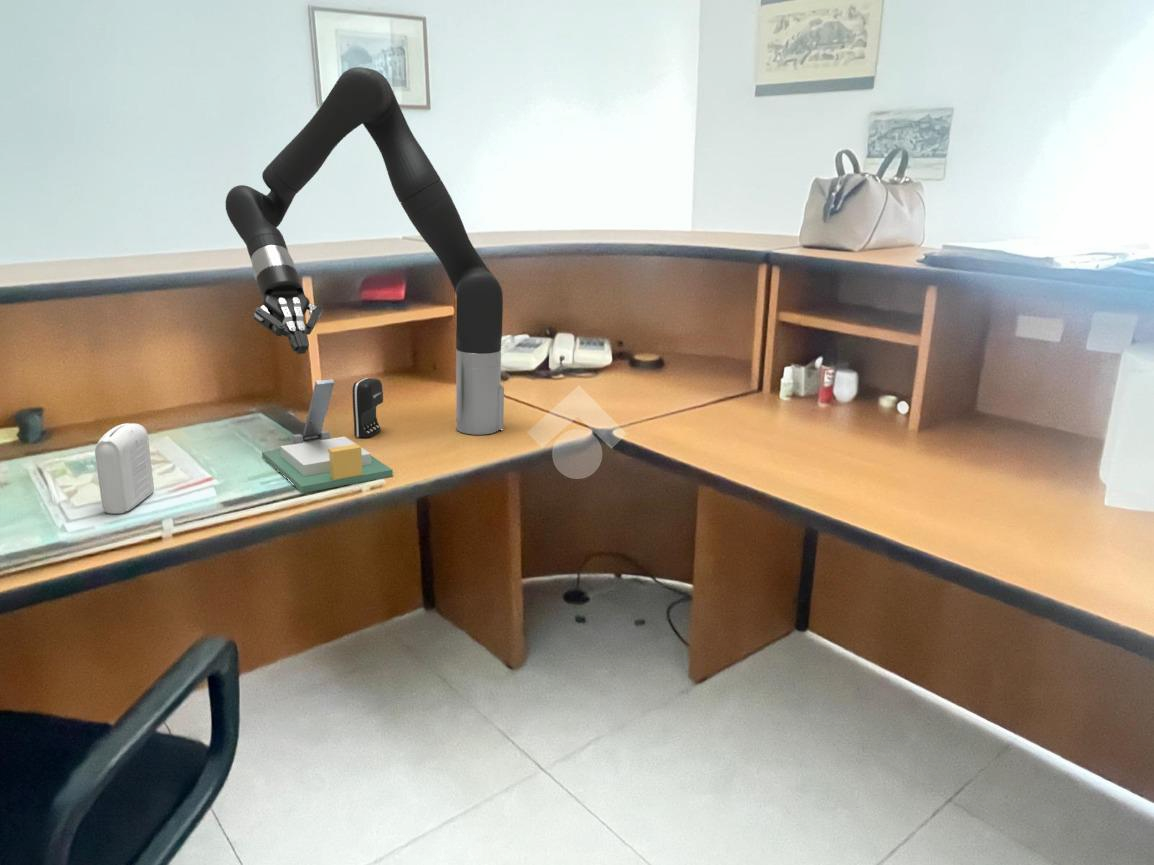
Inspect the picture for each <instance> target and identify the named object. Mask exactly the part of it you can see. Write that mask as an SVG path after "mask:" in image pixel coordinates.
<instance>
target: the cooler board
mask: <svg viewBox="0 0 1154 865" xmlns="http://www.w3.org/2000/svg"><path fill="white" fill-rule="evenodd" d="M291 436H292V437H291V438H292V444H286V445H281V446H280V448H277V449H270V450H265V451H261V453H262V454H261V455H262V456H261V458H262V459H263V458H264V459H265V460H266V461H267V462H266V461H265V460H264V459H263V460H264V461H265V462H266V463H267V464H269V465H270V464H271V465H272V466H273V467H274V468H275V469H277V470H278V471H279V472H280V473H281V474H282V475H284V476H285V477H286V478H288V479H289V480H290V481H291V482H292V483H293V484H294V485H295V486H296V487H295V486H294V487H295V488H296V489H297V490H298V492H301V494H306V493H311V492H316V491H321V490H327V489H332V488H338V487H342V486H343V487H344V486H347V485H353V484H360V483H364V482H369V481H374V480H380V479H381V480H382V479H384V478H391V477H393V476H394V474H393V473H394V472H393V469H392V468H391V467H389V466H388V465H386V464H384V463H383V462H382V461H380V460H378V459H377V458H376V457H375V456H372V453H370V452H369V451H367V450H366V449H364V448H363V447H362V446H360V445H359V444H357V443H355V442H354V441H352V440H351V439H349V438H348V437H346V436H344V435H343V436H339V437H332V438H330V436H331V433H330V431H328V430H326V429H325V430H324V429H323V430H322V431H321V435H320V436H321V438H320V439H318V440H312V441H305V442H303V436H302V434H301V433H298V434H297V433H296V434H292V435H291ZM271 465H270V466H271ZM272 466H271V467H272ZM273 467H272V468H273ZM274 468H273V469H274ZM275 469H274V470H275ZM277 470H276V471H277ZM278 471H277V472H278ZM279 472H278V473H279ZM280 473H279V474H280ZM281 474H280V475H281ZM282 475H281V476H282ZM286 478H285V479H286Z"/></svg>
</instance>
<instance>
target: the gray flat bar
mask: <svg viewBox="0 0 1154 865" xmlns="http://www.w3.org/2000/svg"><path fill="white" fill-rule="evenodd" d="M334 385H335V381H334V378H329V379H321V380H316V381H315V382H314V388H313V392H312V395H311V400H310V404H309V407H308V412H307V415H306V420H305V423H304V424H305V425H304V429H303V432H302V434H301V435H302V436H303V443H305V442H312V441H318V440H319V439H320V438H321V436H320V435H321V431H323V427H324V423H325V419H326V415H327V411H328V408H329V404H330V400H331V397H332V393H333V390H334Z"/></svg>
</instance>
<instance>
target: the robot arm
mask: <svg viewBox="0 0 1154 865" xmlns="http://www.w3.org/2000/svg"><path fill="white" fill-rule="evenodd" d="M361 125H363V126H364V128H365V129H366V130H367V132H368V134H369V135H370V138H372V140H373V142H374V143H375V144H376V147H377V148H378V150H379V152H380V154H381V157H382V159H383V160H382V161H383V163H384V165H385V168H386V172H387V175H388V178H389V181H390V185H391V187H392V190H393V191H394V194H395V195H396V198H397V200H398V202H399V203H400V205H401V207H402V208H403V210H404V213H405V214H406V215H407V217H408V219H409V220H410V222H411V224H412V225H413V227H414V228H415V229H416V231H417V232H418V233H419V235H420V236H421V238H422V239H423V241H425V243H426V244H427V245H428V247H429V248H430V250H432V252H434V254H435V255H436V257H437V258H438V259H439V260H438V261H440V263H441V265H442V267H443V269H444V271H445V272H446V275H447V276H448V279H449V281H450V284H451V286H452V288H453V290H454V293H455V297H456V298H455V306H456V307H455V314H456V317H455V319H456V320H455V322H456V327H455V329H456V331H455V345H456V346H455V347H456V349H455V355H456V356H455V358H456V359H455V360H456V361H455V365H456V366H455V372H456V373H455V375H456V378H455V379H456V380H455V382H456V386H455V389H456V390H455V391H456V392H455V394H456V395H455V396H456V398H455V399H456V400H455V401H456V403H455V404H456V416H455V418H456V419H455V423H456V426H455V427H456V431H458V432H460V433H463V434H465V435H466V434H467V435H475V436H476V435H479V436H480V435H490V434H495V433H497V432H499V431H498V430H501V429H503V430H504V424H505V423H504V418H505V417H504V412H505V410H504V408H505V407H504V406H505V405H504V404H505V402H504V401H505V387H504V386H503V385H502V384H501V379H502V378H501V376H502V374H501V373H502V372H501V369H502V361H501V360H502V338H503V319H504V318H503V317H504V316H503V312H504V311H503V310H504V306H503V305H504V301H503V297H504V295H503V294H504V293H503V290H502V286H501V284H500V283H499V282H500V281H498V279H497V278H496V276H495V275H494V274H493V273H492V271H490V269H489V267H488V266H487V265H486V264H485V262H484V261H483V258H481V257H480V255H479V253H478V252H477V250H476V248H475V247H474V246H473V243H472V242H471V240H470V238H469V236H468V233H467V231H466V228H465V226H464V223H463V221H462V218H461V215H460V214H459V211H458V209H457V206H456V205H455V203H454V201H453V199H452V196H451V195H450V193H449V191H448V189H447V187H446V186H445V184H444V182H443V180H442V178H441V177H440V175H439V174H438V172H437V170H436V169H435V167H434V165H433V164H432V162H431V161H430V159H429V157H428V155H427V154H426V153H425V151H424V149H423V148H422V147H421V145H420V143H419V141H417V139H416V137H415V136H414V134H413V132H412V130H411V128H410V126H409V124H408V122H407V120H406V118H405V116H404V113H403V111H402V108H401V106H400V105H399V102H398V100H397V97H396V95H395V92H394V91H393V88H392V86H391V84H390V82H389V81H388V79H387V78H386V77H385V76H384V75H383V74H382V73H380V72H379V71H377V70H375V69H372V68H368V67H362V66H360V67H357V66H356V67H350V68H349V69H347V70H345V71H344V72H342V74H340V76H339V78H338V79H337V81H336V82H335V84H334V85H333V87H332V89H331V90H330V91H329V93H328V94H327V97H326V98H325V100H324V101H323V102H322V104H321V105H320V107H319V108H318V109H317V111H316V112H315V114H314V115H313V116H312V118H311V119H310V120H309V121H308V122H307V124H306V125H304V127H303V128H302V129H301V130H300V132H298V133H297V134H296V136H294V137H293V139H292V140H291V141H290V142H289V143H288V144H287V145H286V146H285V147H284V148H283V149H282V150H281V151H280V152H279V153H278V154H277V156H275V157H274V158H273V160H271V162H270V163H269V164H268V165H267V166H266V167H265V168H264V170H263V172H262V176H261V177H262V181H263V183H264V184H265V185H266V186H267V188H268V189H269V190H270V191H269V192H268V194H264V193H262V192H260V191H258V190H257V189H254V188H253V187H251V186H248V185H245V184H243V185H242V184H241V185H236V186H233V187H232V188H231V189H230V190H229V191H228V193H227V195H226V198H225V212H226V214H227V217H228V218H229V221H230V223H231V226H233V228H234V230H235V231H236V232H237V234H238V236H239V237H240V238H241V240H242V242H244V244H245V246H246V249H247V251H248V255H249V257H250V258H249V259H250V262H251V267H252V272H253V277H254V280H255V281H256V284H257V287H258V290H259V292H260V293H259V294H260V297H261V299H262V304H261V306H260V307H259V306H257V307H255V309H254V313H253V320H255V321H256V322H258V323H259V324H260V325H262V326H263V327H265V328H266V329H268V330H269V331H270V332H271V333H273V334H274V335H275V336H277V337H282V336H283V337H286V338H287V339H288V342H289V344H290V348H291V350H292V351H293V352H295V353H296V355H302V354H306V353H307V351H308V349H309V346H310V343H309V339H308V337H307V335H311V333H312V332H313V330H314V328H315V326H316V324H317V322H318V321H319V319H320V318H321V315H322V313H323V310H324V306H323V305H322V304H317V305H315V304H313V303H311V302H310V299H309V298H308V297H307V295H306V294H305V292H304V291H305V290H304V288H303V286H302V282H301V279H300V276H299V273H298V271H297V268H296V266H295V262H294V259H293V258H292V256H291V254H290V252H289V250H288V247H287V244H286V241H285V239H284V236H283V234H282V232H281V231H280V230H279V228H278V227H279V226H280V225H281V223H282V222H283V220H284V217H285V215H286V214H287V211H288V210H289V208H290V207H291V204H292V202H293V201H294V198H295V196H296V195H297V194H298V193H299V192H300V191H301V190H303V188H304V187H305V186H306V185H307V184H308V183H309V182H310V180H311V179H312V178H313V177H314V176H315V175H316V174H317V173H318V172H319V171H320V169H321V167H322V166H323V165H324V164H325V161H326V160H327V159H328V157H329V156H330V154H331V153H332V152H333V150H334V149H335V148H336V147H337V145H339V143H340V142H341V141H342V140H344V139H345V138H346V136H348V135H349V134H350V133H351V132H353V131H354V130H355V129H357V128H359V126H361ZM307 311H308V316H309V318H308V320H307V323H305V322H304V316H305V314H306V313H307ZM496 431H497V432H496ZM501 431H502V430H501ZM494 432H495V433H494Z"/></svg>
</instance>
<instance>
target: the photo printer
mask: <svg viewBox="0 0 1154 865" xmlns="http://www.w3.org/2000/svg"><path fill="white" fill-rule="evenodd" d="M94 455H95V463H96V471H97V480H98V486H99V493H100V501H101V507H102V510H103V511H104V512H106V514H116V515H117V514H124V513H126V512H129V511H130V510H132V509H134V508H135V507H136V506H137V505H139V504H140V503H141V502H142V501H144V500H145V499H147V498H148V497H149V496H150V495H152V494H153V493H154V490H155V486H154V477H153V468H152V459H151V458H152V457H151V451H150V442H149V434H148V431H147V430H146V428H145V427H144V426H143V425H141V424H139V423H122V424H119V425H116V426H114V427H112V428H111V429H109V430H108V431H107V432H105V433H104V434H103V436H101V438H99V441H98V442H97V443H96V445H95V448H94Z"/></svg>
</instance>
